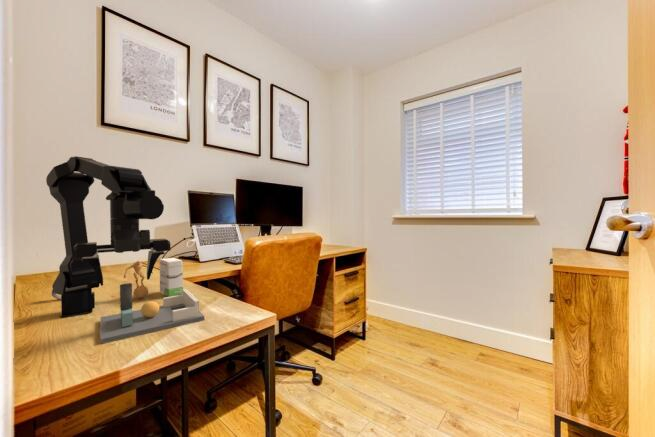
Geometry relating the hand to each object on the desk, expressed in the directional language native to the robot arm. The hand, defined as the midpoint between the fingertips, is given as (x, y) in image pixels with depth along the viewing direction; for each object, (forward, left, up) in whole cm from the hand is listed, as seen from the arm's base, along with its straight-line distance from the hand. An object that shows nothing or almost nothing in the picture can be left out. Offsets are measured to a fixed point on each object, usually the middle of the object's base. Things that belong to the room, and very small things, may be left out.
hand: (126, 282), depth 69 cm
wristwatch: (-14, +38, -11) cm, 42 cm away
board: (+6, 0, -11) cm, 12 cm away
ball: (+5, 0, -8) cm, 9 cm away
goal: (+12, 0, -10) cm, 15 cm away
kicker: (0, 0, -10) cm, 10 cm away
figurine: (+5, +25, -11) cm, 28 cm away
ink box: (+14, +24, -11) cm, 30 cm away
